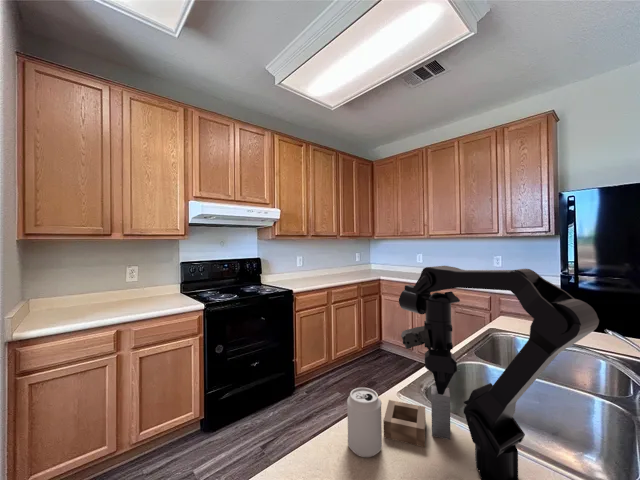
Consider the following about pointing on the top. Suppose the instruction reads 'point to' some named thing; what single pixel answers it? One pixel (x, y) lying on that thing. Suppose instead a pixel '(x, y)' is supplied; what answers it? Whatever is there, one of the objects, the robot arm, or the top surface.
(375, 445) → the can
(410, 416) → the socket
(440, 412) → the peg
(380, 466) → the top surface
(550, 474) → the top surface
